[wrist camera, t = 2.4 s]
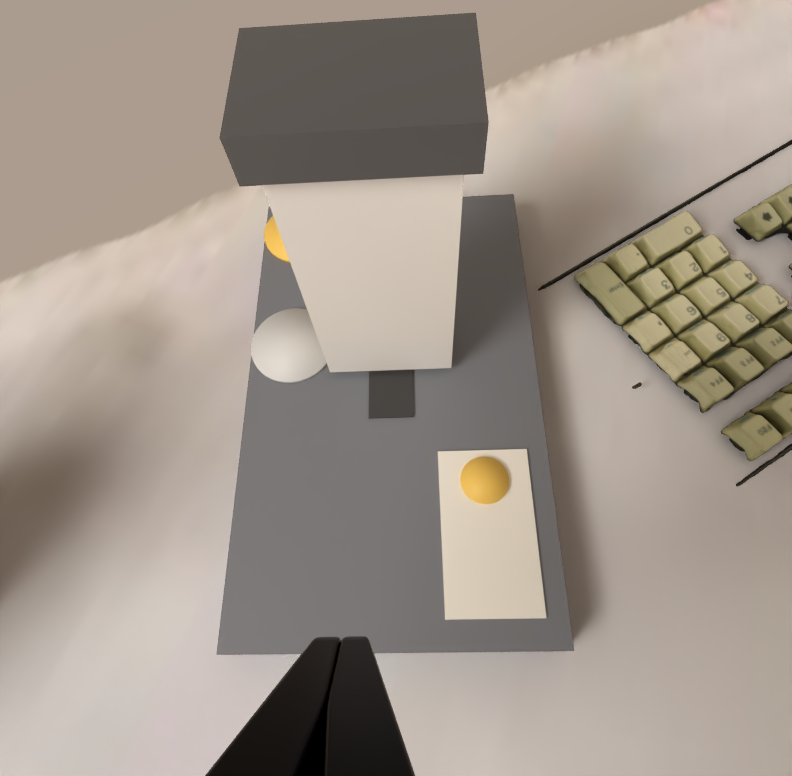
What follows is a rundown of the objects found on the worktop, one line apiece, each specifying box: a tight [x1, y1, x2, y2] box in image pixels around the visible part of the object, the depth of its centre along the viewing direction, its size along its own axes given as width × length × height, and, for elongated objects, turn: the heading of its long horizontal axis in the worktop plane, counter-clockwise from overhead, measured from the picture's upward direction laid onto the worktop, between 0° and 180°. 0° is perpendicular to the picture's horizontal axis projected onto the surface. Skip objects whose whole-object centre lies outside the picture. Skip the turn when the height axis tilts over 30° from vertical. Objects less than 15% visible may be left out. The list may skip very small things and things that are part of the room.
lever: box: [220, 13, 488, 372], centre depth 18 cm, size 4×6×12 cm, turn 91°
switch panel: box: [217, 194, 574, 655], centre depth 24 cm, size 20×12×2 cm, turn 1°
